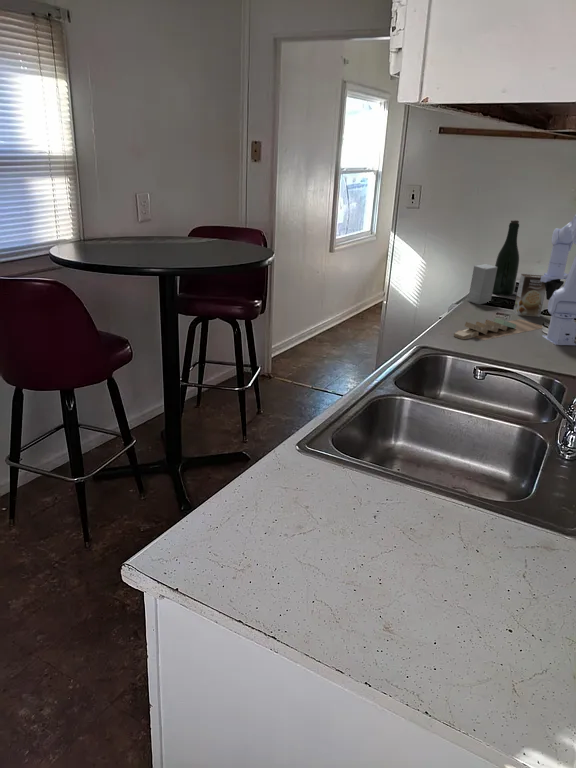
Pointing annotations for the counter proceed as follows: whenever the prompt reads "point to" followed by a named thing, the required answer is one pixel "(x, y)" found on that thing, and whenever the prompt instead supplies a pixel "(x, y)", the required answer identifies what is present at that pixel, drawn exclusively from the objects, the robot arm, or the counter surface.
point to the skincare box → (482, 283)
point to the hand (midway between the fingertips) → (549, 299)
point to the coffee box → (529, 296)
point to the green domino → (505, 323)
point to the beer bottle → (507, 263)
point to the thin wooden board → (509, 330)
